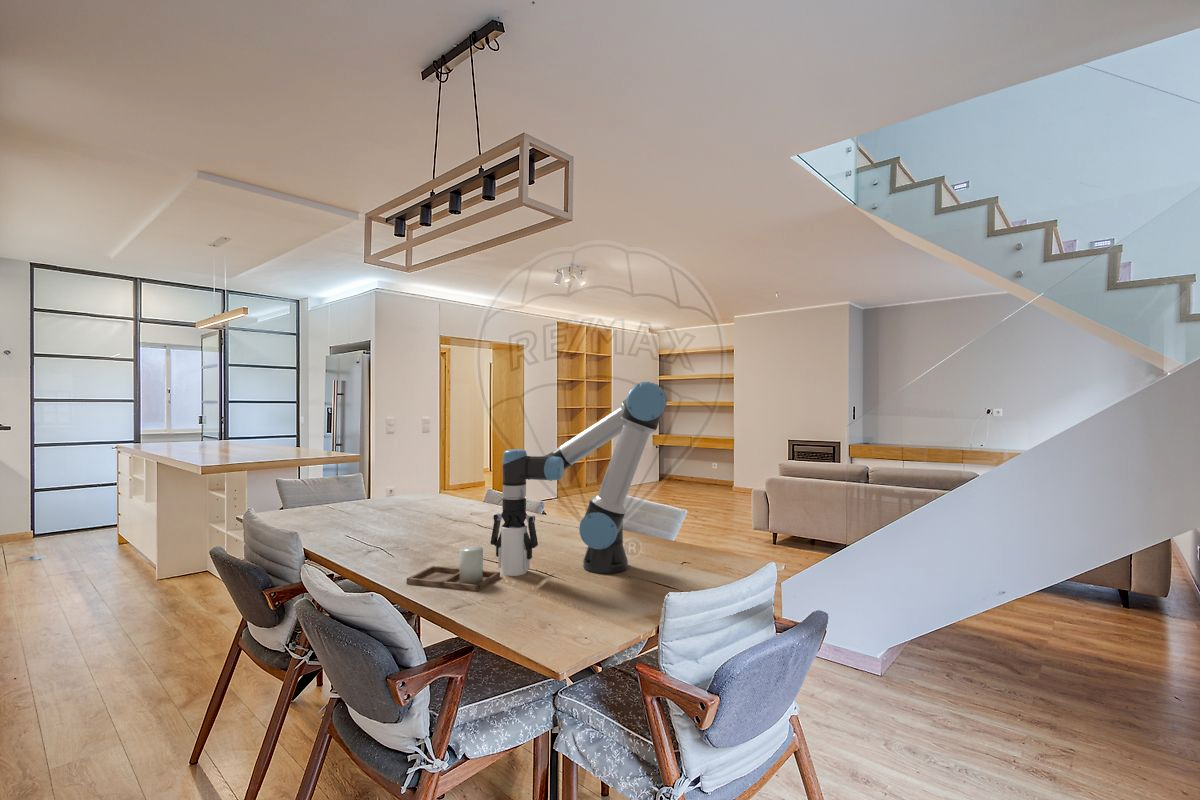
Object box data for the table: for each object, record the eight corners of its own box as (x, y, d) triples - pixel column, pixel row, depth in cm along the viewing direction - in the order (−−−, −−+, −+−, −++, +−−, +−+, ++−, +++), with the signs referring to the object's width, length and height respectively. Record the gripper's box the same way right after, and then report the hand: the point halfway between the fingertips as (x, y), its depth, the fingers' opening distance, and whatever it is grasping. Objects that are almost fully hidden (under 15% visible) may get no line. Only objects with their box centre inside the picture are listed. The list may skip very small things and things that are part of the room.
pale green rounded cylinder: (486, 579, 174) (486, 547, 174) (475, 586, 167) (475, 552, 167) (466, 577, 176) (466, 545, 176) (454, 584, 169) (454, 551, 169)
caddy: (499, 580, 177) (500, 572, 177) (478, 594, 163) (478, 586, 163) (432, 573, 183) (432, 565, 183) (406, 586, 170) (406, 578, 170)
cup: (529, 571, 186) (529, 523, 186) (523, 579, 177) (523, 528, 177) (504, 570, 186) (505, 522, 186) (497, 578, 178) (498, 527, 178)
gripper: (549, 497, 183) (548, 567, 183) (490, 494, 188) (489, 562, 188) (540, 501, 176) (539, 574, 175) (479, 497, 181) (478, 568, 181)
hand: (513, 567), depth 182 cm, fingers closed on cup, 8 cm apart
